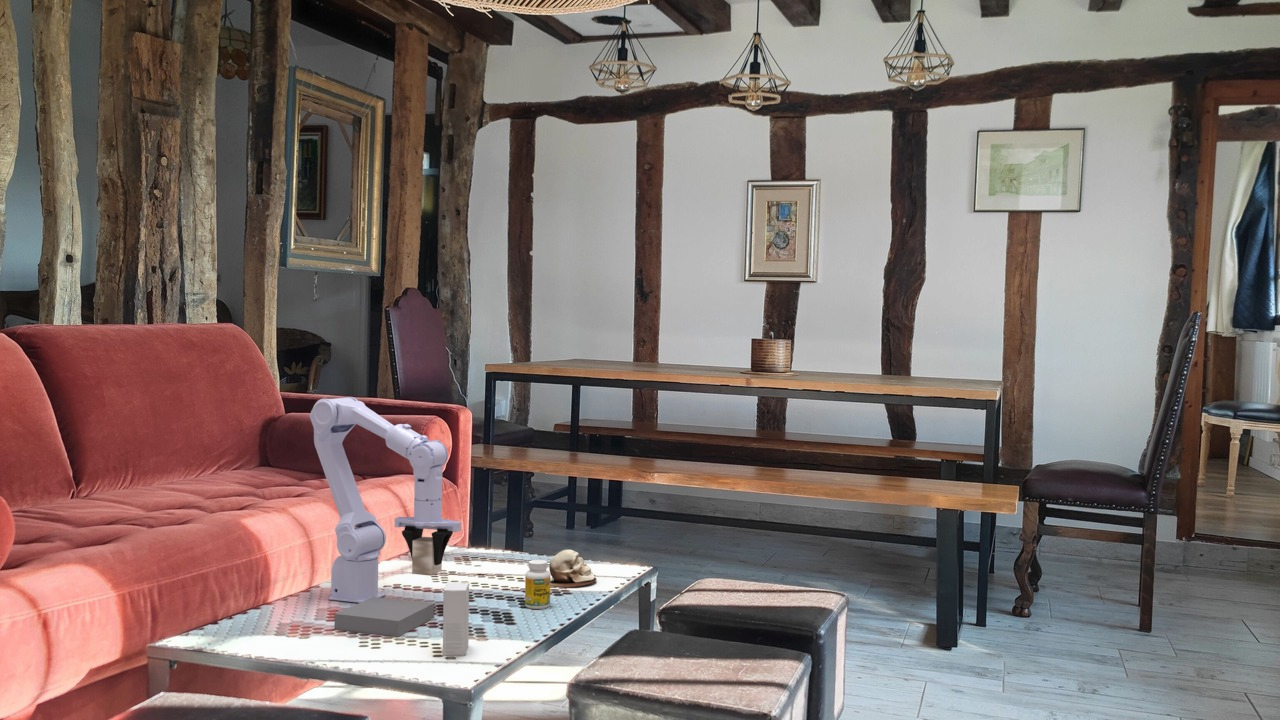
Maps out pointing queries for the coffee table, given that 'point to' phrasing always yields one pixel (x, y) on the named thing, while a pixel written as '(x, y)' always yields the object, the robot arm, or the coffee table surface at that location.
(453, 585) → the skincare box
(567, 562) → the skull
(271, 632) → the coffee table surface
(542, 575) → the supplement bottle
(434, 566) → the cream block
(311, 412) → the robot arm
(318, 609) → the coffee table surface
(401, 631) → the riser block
